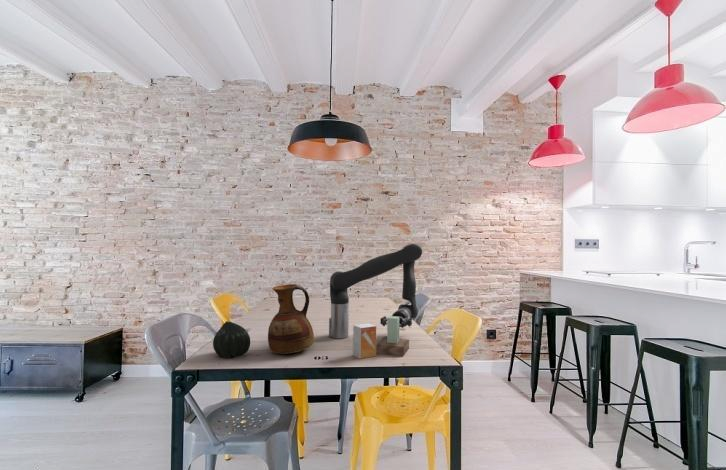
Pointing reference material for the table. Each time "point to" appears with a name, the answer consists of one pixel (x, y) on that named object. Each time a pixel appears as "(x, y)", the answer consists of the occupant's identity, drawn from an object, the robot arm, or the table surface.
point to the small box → (364, 340)
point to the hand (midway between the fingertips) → (392, 324)
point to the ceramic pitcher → (290, 323)
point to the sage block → (392, 329)
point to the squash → (231, 340)
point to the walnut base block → (393, 347)
